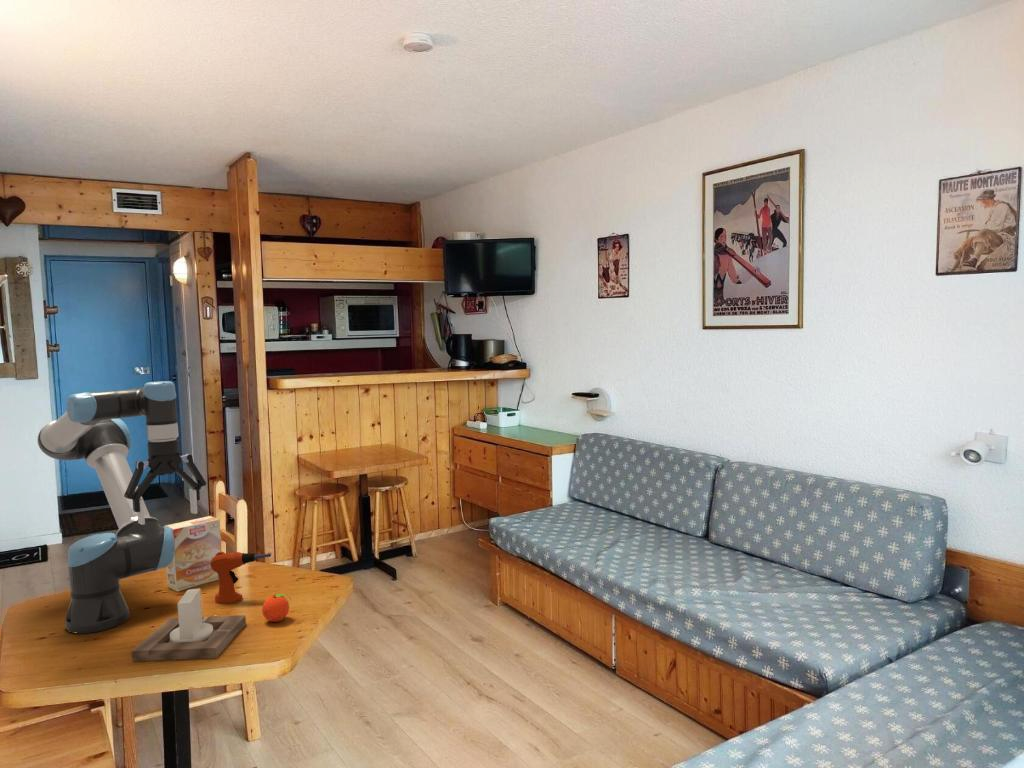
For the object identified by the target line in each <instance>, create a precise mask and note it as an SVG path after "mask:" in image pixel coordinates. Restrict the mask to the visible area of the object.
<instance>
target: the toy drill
mask: <svg viewBox="0 0 1024 768" xmlns="http://www.w3.org/2000/svg"><path fill="white" fill-rule="evenodd" d="M271 556H272V554H271V553H270V552H269V553H264V554H262V553H261V554H256V553H252V552H251V553H249V552H247V553H245V552H240V551H234V552H224V551H221V552H218V553H217V554H216V555H215V556H214V557H213V558H212V560H211V562H210V565H211V568H212V569H213V570H214V571H215V572H216V573H218V577H219V580H218V582H219V583H218V584H219V585H218V587H219V588H218V592H216V594H215V596H214V602H215V603H217V604H235V602H236V603H239V602H241V601H242V600H243V594H241V593H239V592H237V591H236V590H235V584H236V583H237V582H238V581H239V577H237V576H236V573H235V571H233V570H235V569H237V568H239V567H242V566H245V565H246V564H249V563H254V562H255V561H256V559H257V560H259V559H263V558H269V557H271ZM241 599H242V600H241ZM240 600H241V601H240ZM238 601H239V602H238Z"/></svg>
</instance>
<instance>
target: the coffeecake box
mask: <svg viewBox="0 0 1024 768" xmlns="http://www.w3.org/2000/svg"><path fill="white" fill-rule="evenodd" d="M220 521H221V520H220V518H218V517H215V516H212V515H207V516H203V517H199V518H195V519H194V518H193V519H189V520H185V521H184V520H183V521H181V522H175V523H172V524H166V525H165V526H168V527H170V528H171V530H172V532H173V535H174V541H175V551H174V557H173V560H172V562H171V563H170V564H169V565H168V566H167V567H165V568H166V584H167V588H170V589H172V590H173V591H175V592H177V593H178V592H180V591H184V590H189V589H192V588H194V587H199V586H201V585H204V584H208V583H211V582H215V581H219V577H218V573H216V572H215V571H214V570H213V569H212V568H211V565H210V562H211V560H212V558H213V557H214V556H215V555H216V554H217V553H218V552H222V541H221V539H222V538H221V535H222V534H221V522H220Z"/></svg>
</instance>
